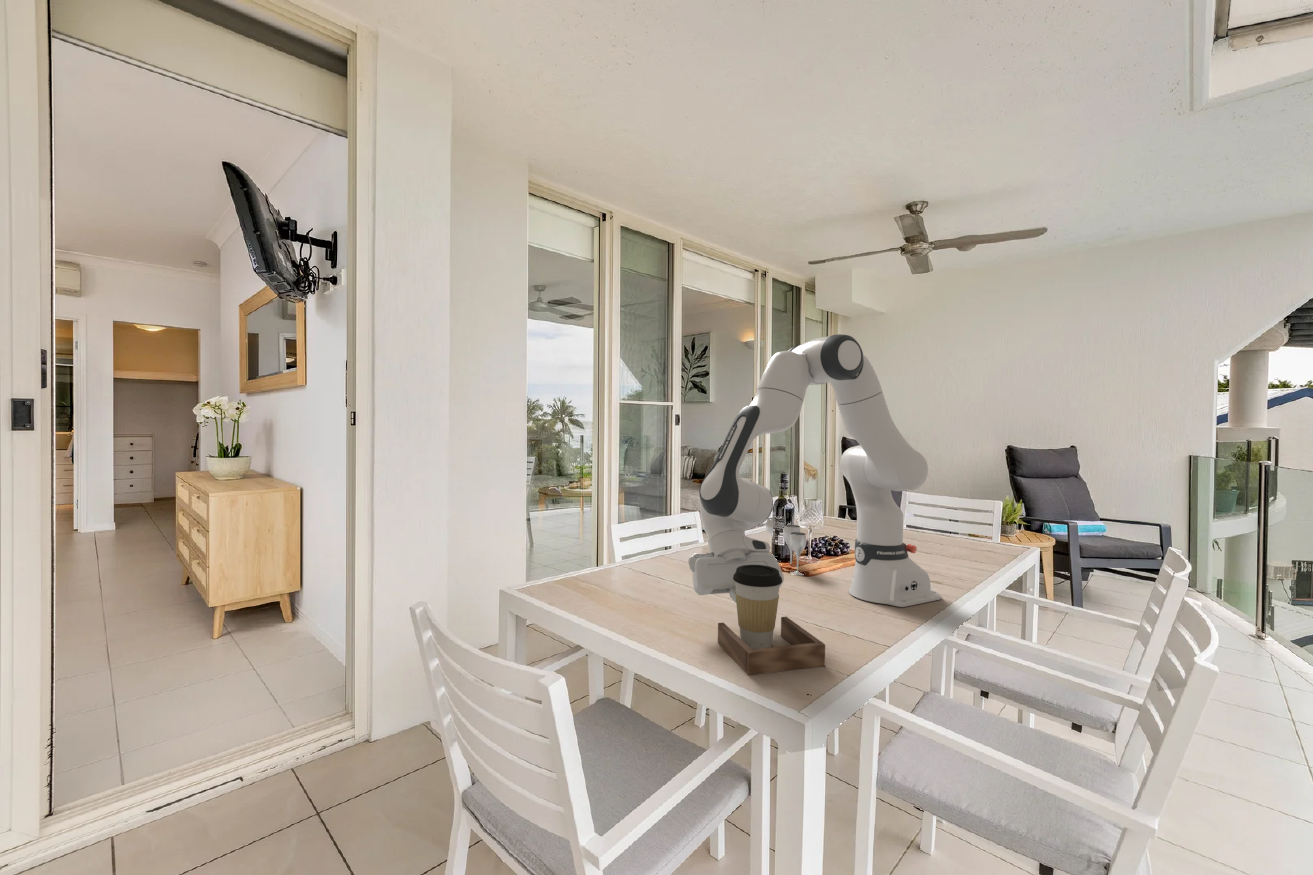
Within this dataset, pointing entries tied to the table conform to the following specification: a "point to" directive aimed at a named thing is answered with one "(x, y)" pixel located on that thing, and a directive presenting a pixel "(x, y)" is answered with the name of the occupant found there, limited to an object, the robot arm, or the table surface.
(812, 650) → the walnut caddy
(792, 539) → the goblet set
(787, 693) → the table surface
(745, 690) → the table surface
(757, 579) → the coffee cup
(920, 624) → the table surface
